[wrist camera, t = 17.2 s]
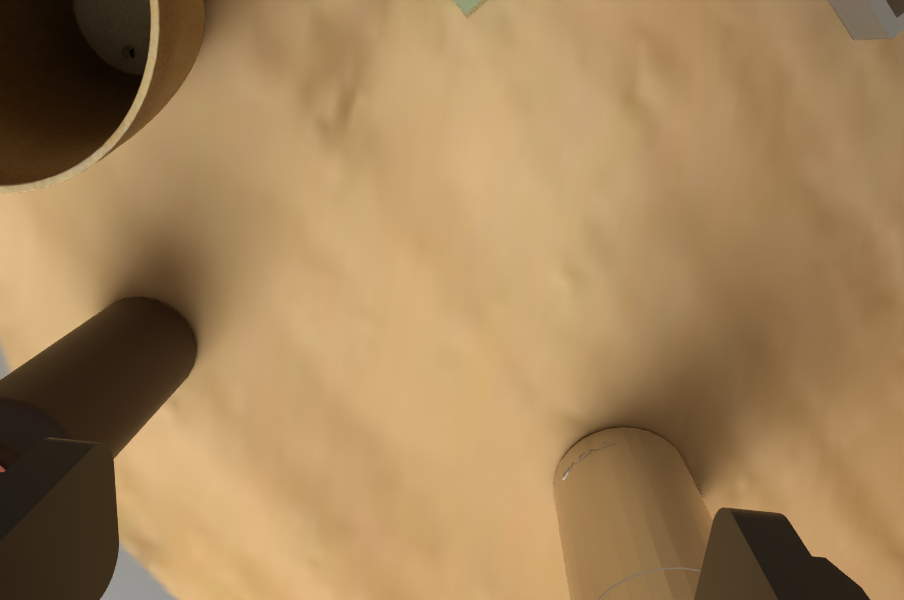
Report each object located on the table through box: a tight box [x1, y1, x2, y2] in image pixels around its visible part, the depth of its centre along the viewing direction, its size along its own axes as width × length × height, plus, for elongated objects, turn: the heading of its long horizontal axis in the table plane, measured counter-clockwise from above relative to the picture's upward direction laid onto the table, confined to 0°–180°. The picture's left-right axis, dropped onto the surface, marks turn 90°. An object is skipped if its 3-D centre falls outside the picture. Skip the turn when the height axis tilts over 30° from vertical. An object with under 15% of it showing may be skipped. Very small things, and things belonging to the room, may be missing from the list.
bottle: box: [0, 297, 196, 472], centre depth 39 cm, size 7×7×20 cm
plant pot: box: [0, 0, 205, 193], centre depth 35 cm, size 15×15×16 cm
